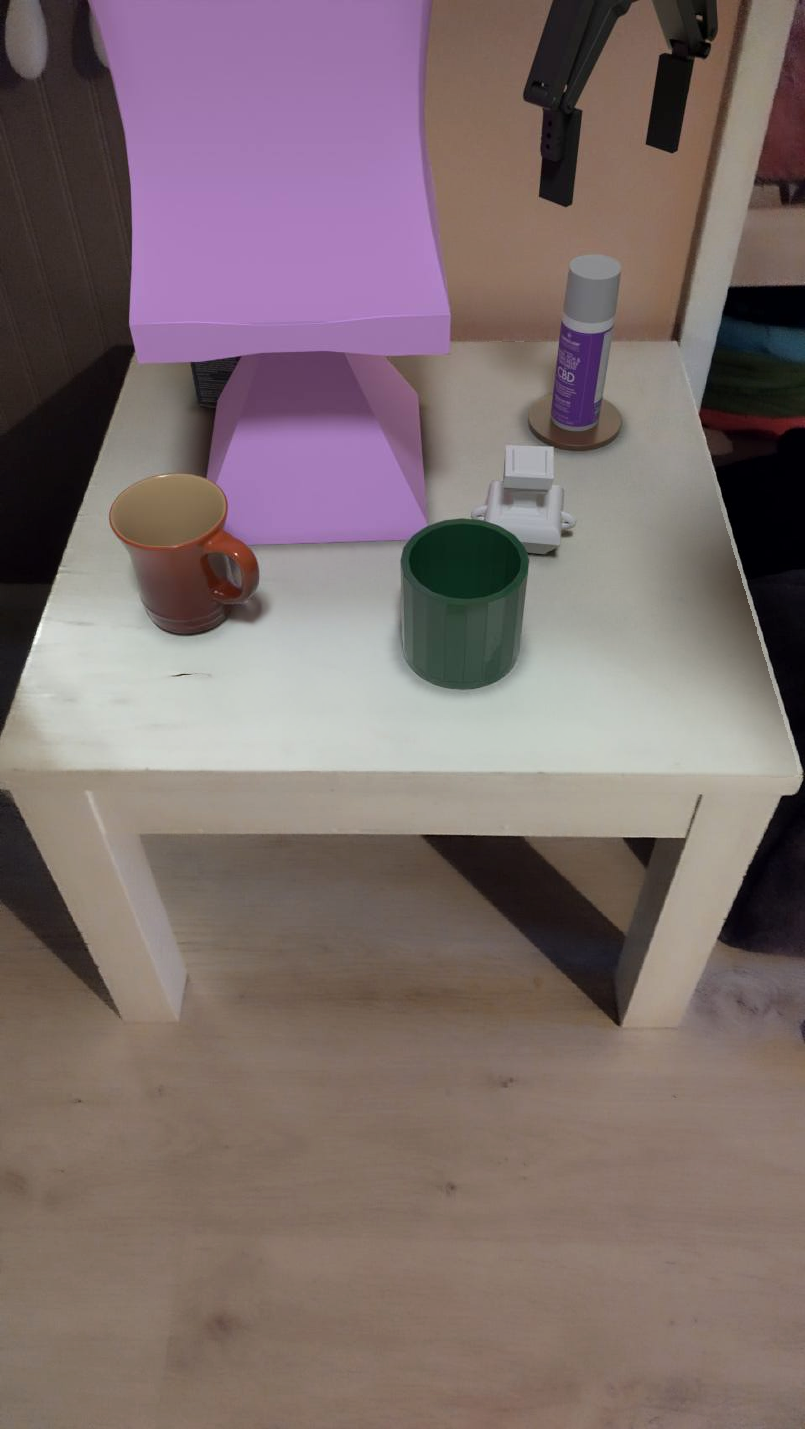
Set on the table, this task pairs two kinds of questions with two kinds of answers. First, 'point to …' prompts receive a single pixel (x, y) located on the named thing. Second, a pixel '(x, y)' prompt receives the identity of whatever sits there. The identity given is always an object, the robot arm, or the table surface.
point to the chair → (288, 245)
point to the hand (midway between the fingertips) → (610, 174)
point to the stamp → (528, 499)
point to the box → (212, 379)
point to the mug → (183, 550)
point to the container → (585, 341)
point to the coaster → (574, 440)
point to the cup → (462, 602)
